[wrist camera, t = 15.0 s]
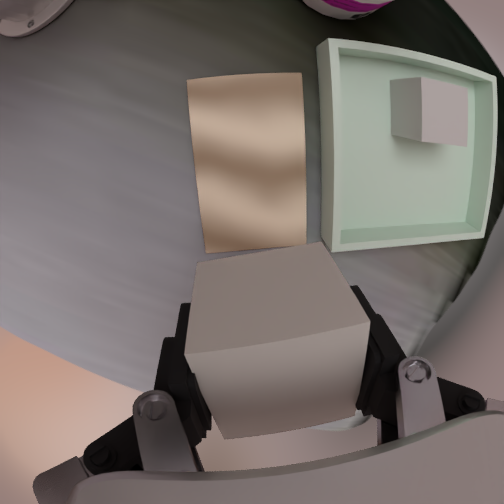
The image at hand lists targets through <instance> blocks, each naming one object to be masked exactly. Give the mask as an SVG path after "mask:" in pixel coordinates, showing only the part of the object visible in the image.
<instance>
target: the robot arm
mask: <svg viewBox="0 0 504 504" xmlns="http://www.w3.org/2000/svg"><path fill="white" fill-rule="evenodd" d="M72 1H73V0H0V33H1V34H3V35H5V36H9V37H22V36H26V35H29V34H32V33H34V32H36V31H38V30H40V29H41V28H43V27H44V26H46V25H48V24H49V23H50V22H51V21H53V20H54V19H55V18H57V17H58V16H59V15H60V14H61V13H62V12H63V11H64V10H65V9H66V8H67V7H68V6H69V5H70V4H71V3H72ZM350 288H351V289H352V291H353V293H354V294H355V296H356V298H357V299H358V301H359V303H360V304H361V306H362V308H363V309H364V311H365V313H366V315H367V316H368V318H369V320H370V330H369V337H368V344H367V351H366V358H365V364H364V370H363V375H362V381H361V386H360V392H359V395H358V398H357V401H356V404H355V406H356V408H357V410H361V411H362V413H363V416H367V415H371V414H372V415H373V417H375V418H377V446H375V447H372V448H368V449H364V450H360V451H357V452H353V453H349V454H344V455H341V456H336V457H332V458H326V459H321V460H316V461H311V462H305V463H300V464H292V465H286V466H279V467H270V468H261V469H250V470H236V471H217V472H216V471H215V472H205V471H204V468H203V466H202V463H201V460H200V458H199V455H198V452H197V449H196V445H197V444H199V443H200V442H201V441H202V438H206V430H211V416H212V414H211V412H210V410H209V408H208V406H207V404H206V402H205V399H204V397H203V395H202V393H201V391H200V388H199V385H198V382H197V379H196V376H195V373H192V371H191V369H190V367H189V364H188V362H187V360H186V357H185V355H184V353H185V345H186V337H187V329H188V322H189V314H190V307H191V303H182V304H181V306H180V312H179V317H178V323H177V328H176V334H175V337H165V338H164V340H163V344H162V349H161V354H160V359H159V364H158V369H157V375H156V380H155V385H154V390H151V391H147V392H145V393H143V394H142V395H140V396H139V397H138V398H137V399H136V400H135V402H134V404H133V415H132V416H131V417H130V418H128V419H127V420H125V421H124V422H122V423H121V424H119V425H118V426H116V427H115V428H113V429H112V430H110V431H109V432H107V433H106V434H105V435H103V436H101V437H100V438H98V439H97V440H95V441H94V442H92V443H91V444H90V445H88V446H87V448H86V449H85V451H84V455H83V456H82V457H80V458H78V457H77V456H75V457H73V458H71V459H69V460H68V461H65V462H63V463H61V464H60V465H58V466H55V467H53V468H51V469H49V470H47V471H45V472H43V473H41V474H39V475H38V476H37V477H36V478H35V480H34V482H33V491H34V493H35V496H36V498H37V501H38V503H39V504H504V401H499V400H495V399H491V398H487V400H484V398H483V397H482V395H481V394H480V393H479V392H477V391H475V390H473V389H470V388H468V387H465V386H462V385H459V384H456V383H453V382H450V381H447V380H445V379H442V378H439V377H436V372H435V369H434V367H433V365H432V364H431V363H430V362H429V361H427V360H426V359H424V358H421V357H416V356H413V357H408V358H407V357H406V355H405V354H404V352H403V350H402V349H401V347H400V345H399V344H398V342H397V340H396V339H395V337H394V336H393V334H392V332H391V331H390V329H389V327H388V326H387V324H386V323H385V321H384V319H383V318H382V317H381V315H379V314H375V312H374V310H373V309H372V307H371V306H370V304H369V302H368V301H367V299H366V298H365V296H364V294H363V293H362V291H361V290H360V288H359V287H358V286H357V285H355V286H350Z"/></svg>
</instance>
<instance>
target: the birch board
mask: <svg viewBox="0 0 504 504" xmlns="http://www.w3.org/2000/svg"><path fill="white" fill-rule="evenodd" d="M187 90H188V102H189V114H190V124H191V135H192V145H193V154H194V163H195V172H196V181H197V189H198V197H199V205H200V213H201V221H202V228H203V235H204V242H205V249H206V253H216V252H228V251H240V250H251V249H263V248H274V247H286V246H298V245H304V244H306V154H305V126H304V105H303V87H302V73H260V74H241V75H228V76H217V77H208V78H199V79H191V80H187Z"/></svg>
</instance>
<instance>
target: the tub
mask: <svg viewBox="0 0 504 504" xmlns="http://www.w3.org/2000/svg"><path fill="white" fill-rule="evenodd" d="M316 57H317V70H318V86H319V105H320V131H321V237H322V239H323V240H324V242H325V243H326V245H327V246H328V248H329V249H330V251H331V252H342V251H353V250H363V249H374V248H385V247H395V246H405V245H416V244H426V243H436V242H446V241H456V240H466V239H476V238H484V234H485V229H486V224H487V219H488V213H489V207H490V201H491V194H492V187H493V179H494V170H495V159H496V145H497V84H496V77H495V76H493V75H490V74H487V73H485V72H482V71H479V70H477V69H474V68H471V67H468V66H465V65H462V64H459V63H456V62H453V61H449V60H446V59H443V58H439V57H435V56H432V55H428V54H424V53H420V52H415V51H411V50H406V49H402V48H397V47H392V46H386V45H380V44H374V43H368V42H361V41H353V40H344V39H334V38H328V39H326V40H325V41H323V42H322V43H321V44H319V45H318V46H316ZM414 77H424V78H429V79H433V80H437V81H442V82H446V83H450V84H453V85H457V86H461V87H464V88H467V90H468V137H467V147H463V146H456V145H448V144H439V143H430V142H421V141H417V140H413V139H409V138H404V137H400V136H395V135H391V101H390V80H395V79H404V78H414Z"/></svg>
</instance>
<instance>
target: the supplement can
mask: <svg viewBox="0 0 504 504" xmlns="http://www.w3.org/2000/svg"><path fill="white" fill-rule="evenodd" d="M302 1H303V2H304V3H305V4H306V5H307V6H309V7H311V8H313V9H314V10H316V11H318V12H320V13H321V14H323V15H327V16H330V17H334V18H337V19H358V18H360V17H364V16H367V15H369V14H370V13H372V12H374V11H375V10H377V9H379V8H381V7H382V6H384V5H386V4H388V3H389V2H391V1H393V0H302Z"/></svg>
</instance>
